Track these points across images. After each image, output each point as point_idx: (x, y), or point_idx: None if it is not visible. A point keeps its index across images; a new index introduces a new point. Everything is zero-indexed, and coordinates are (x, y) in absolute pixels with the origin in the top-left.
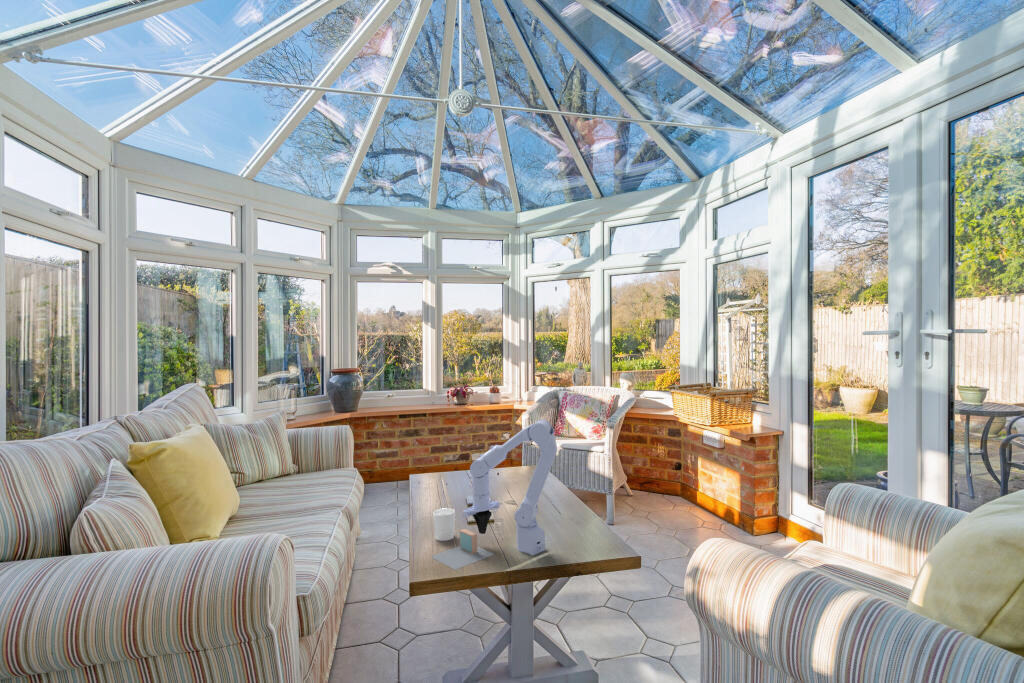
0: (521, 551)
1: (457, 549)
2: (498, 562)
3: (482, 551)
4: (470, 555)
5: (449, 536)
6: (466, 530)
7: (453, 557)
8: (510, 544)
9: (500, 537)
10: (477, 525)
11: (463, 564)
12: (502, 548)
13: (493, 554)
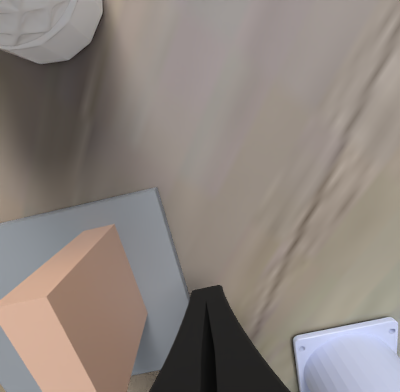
0: (307, 386)
1: (64, 239)
2: None
3: (171, 317)
4: None
5: (31, 50)
6: (55, 339)
7: None
8: (329, 282)
9: (350, 181)
10: (177, 342)
11: None
12: (274, 301)
13: None
